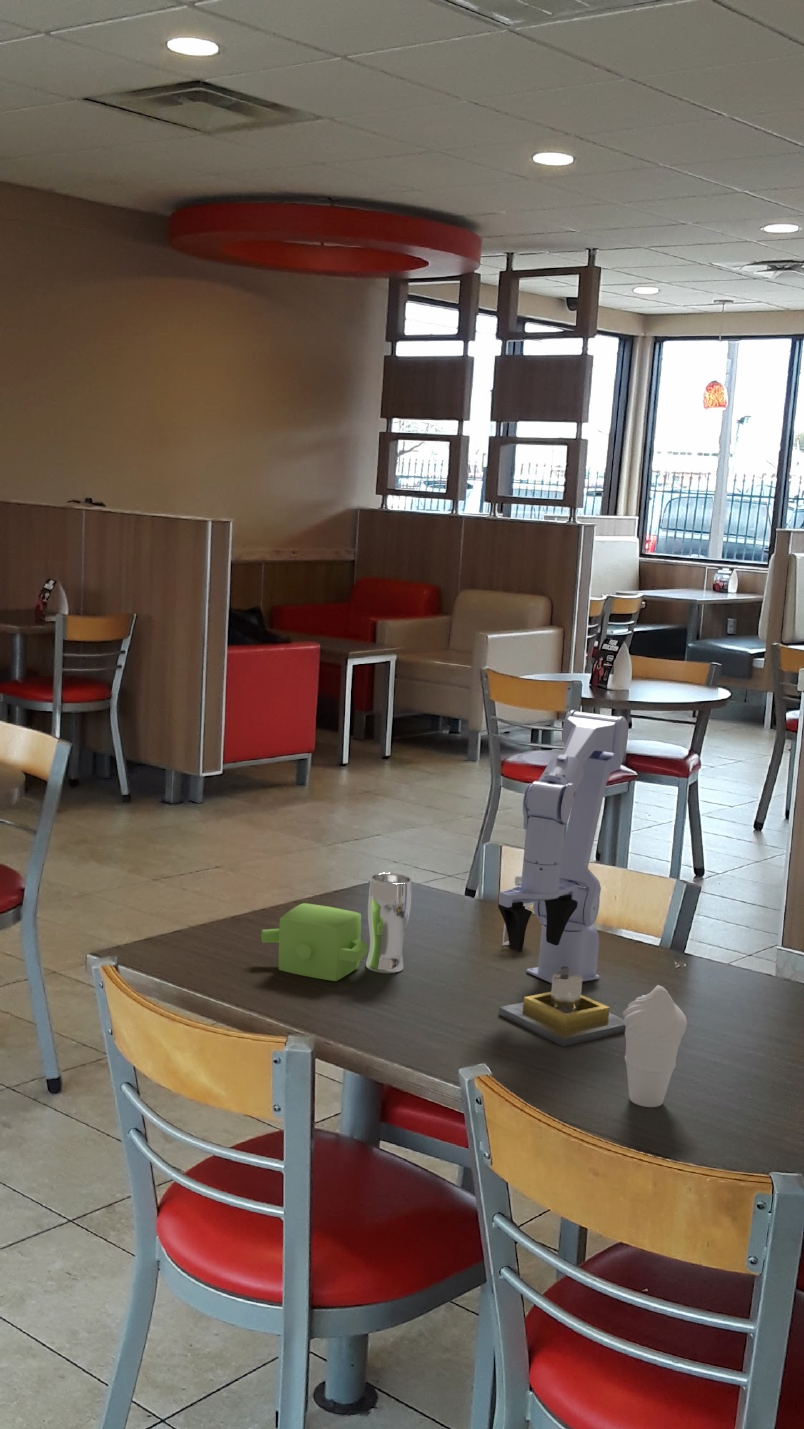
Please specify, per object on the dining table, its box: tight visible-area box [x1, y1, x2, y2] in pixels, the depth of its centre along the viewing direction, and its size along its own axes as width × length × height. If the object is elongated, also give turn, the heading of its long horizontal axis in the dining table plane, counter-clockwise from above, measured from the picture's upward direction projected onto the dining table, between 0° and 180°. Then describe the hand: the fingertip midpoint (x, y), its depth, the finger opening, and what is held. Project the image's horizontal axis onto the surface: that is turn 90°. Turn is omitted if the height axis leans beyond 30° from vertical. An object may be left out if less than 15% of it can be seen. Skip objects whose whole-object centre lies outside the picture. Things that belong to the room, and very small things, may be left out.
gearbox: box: [260, 902, 369, 982], centre depth 227 cm, size 18×10×10 cm, turn 67°
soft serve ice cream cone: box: [622, 984, 688, 1108], centre depth 185 cm, size 8×8×16 cm
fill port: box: [498, 991, 626, 1048], centre depth 213 cm, size 14×14×3 cm
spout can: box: [550, 966, 583, 1013], centre depth 212 cm, size 4×4×8 cm
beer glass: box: [365, 872, 412, 974], centre depth 231 cm, size 7×7×15 cm
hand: (534, 946), depth 218 cm, fingers open, 7 cm apart
